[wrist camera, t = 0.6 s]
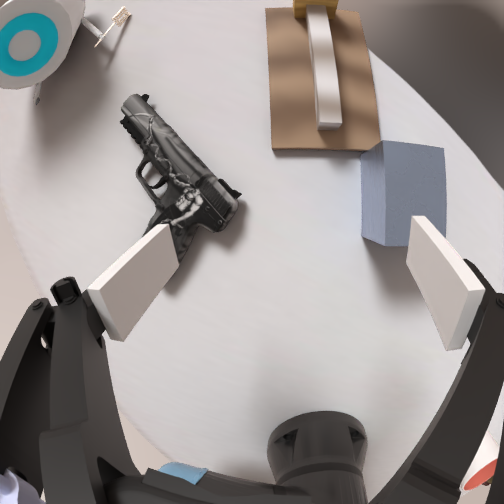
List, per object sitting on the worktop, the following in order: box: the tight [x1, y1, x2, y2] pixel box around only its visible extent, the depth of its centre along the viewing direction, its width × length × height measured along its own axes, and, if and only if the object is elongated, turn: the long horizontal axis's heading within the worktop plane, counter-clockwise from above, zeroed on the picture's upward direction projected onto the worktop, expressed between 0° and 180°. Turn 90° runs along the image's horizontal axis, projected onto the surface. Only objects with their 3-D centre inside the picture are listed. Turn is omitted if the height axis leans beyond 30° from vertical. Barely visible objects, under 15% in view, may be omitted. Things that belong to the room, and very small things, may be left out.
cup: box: [460, 430, 500, 491], centre depth 28 cm, size 10×10×10 cm
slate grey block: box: [360, 140, 447, 246], centre depth 25 cm, size 9×6×8 cm
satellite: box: [0, 0, 131, 105], centre depth 21 cm, size 23×20×25 cm
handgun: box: [120, 94, 242, 263], centre depth 31 cm, size 20×3×14 cm
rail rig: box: [265, 0, 380, 151], centre depth 24 cm, size 20×12×6 cm, turn 1°
